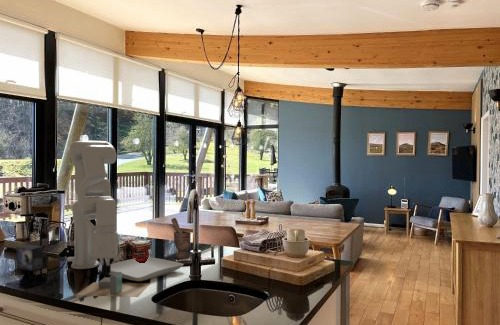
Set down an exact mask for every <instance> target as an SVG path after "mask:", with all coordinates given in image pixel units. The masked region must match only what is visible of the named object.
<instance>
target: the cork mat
mask: <svg viewBox="0 0 500 325" xmlns="http://www.w3.org/2000/svg"><path fill="white" fill-rule="evenodd" d="M151 284H152V283H151V282H150V283H149V282H145V283H144V282H143V283H141V282H122V290H121V291H120V292H118V293H117V294H116V295H110V288H99V281H98V282H97V281H96V282H95V281H94V282H92V283H91V284H89V285H87V286H86V287H85V288H83V289H82V290H80V291H79V292H77V293H76V294H75V295H74V296H76V297H77V296H79V297H80V296H82V297H88V296H89V297H121V298H122V297H124V298H126V297H127V298H129V297H130V298H131V297H132V298H138V297H139V296H140V295H142V294H143V292H145V290H147V288H148V287H149V286H150V285H151Z"/></svg>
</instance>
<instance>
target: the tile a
mask: <svg viewBox="0 0 500 325" xmlns="http://www.w3.org/2000/svg"><path fill="white" fill-rule="evenodd" d="M98 282H99V288H110V277H103V278H102V279H101V280H99V281H98Z"/></svg>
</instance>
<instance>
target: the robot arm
mask: <svg viewBox="0 0 500 325" xmlns="http://www.w3.org/2000/svg"><path fill="white" fill-rule="evenodd" d="M69 155H70V159H71V161H72V163H73V167H74V188H75V195H76V198H77V201H75V202H74V203H73V204H72V206H71V210H72V216H73V218H72V219H73V227H74V229H73V230H74V236H73V237H74V256H68V257H67V258H66V262H68V263H71V262H72V263H71V265H70V267H71V268H72V269H74V270H85V269H93V268H96V267H98V266H100V267H102V272H101V273H102V276H103V277H104V276H109V275H108V274H110V272H111V264H113V263H114V262H116V261H119V260H120V254H121V253H120V251H121V250H120V239H119V233H118V231H117V230H116V228H117V223H116V222H117V221H116V220H117V216H116V215H117V214H116V210H117V209H116V208H117V206H116V200H115V199H114V198H113V197H112V193H111V192H112V190H111V182H110V179H109V178H107V171H106V166H105V165H107V164H108V165H111V164H113V165H114V164H115V163H116V161H117V152H116V148H115V147H114V145H112V144H111V143H110V142H108V141H104V140H76V141H73V142H71V144H70V146H69ZM91 220H95V225H94V224H93V222H91Z"/></svg>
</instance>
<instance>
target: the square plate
mask: <svg viewBox="0 0 500 325" xmlns="http://www.w3.org/2000/svg"><path fill="white" fill-rule="evenodd" d="M147 257H148V259H147V261H146V262H145V263H139V262H137V261H136V260H135V259H136V258H131V259H127V260H123V261H118V262H115V263H114V262H113V263H111V272H110V274H108V275H107V276H111V275H112V274H114V273H115V272H122V279H124V280H129V281H134V282H143V281H147V280H148V281H149V280H150V279H154V278H157V277H161V276H165V275H167V274H168V275H169V274H170V273H172V272H174V271H177V270H179V269H181V268H182V267H183V266H184V265H185V263H181V262H176V261H172V260H167V259H162V258H156V257H149V256H147ZM97 270H99V271H100V272H101V273H102V266H100V267H98V268H97Z"/></svg>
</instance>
